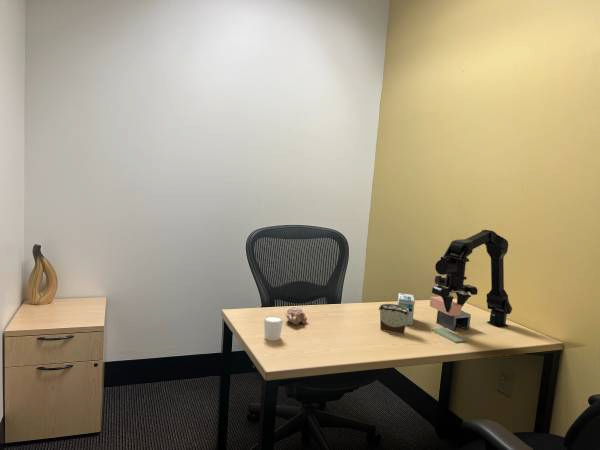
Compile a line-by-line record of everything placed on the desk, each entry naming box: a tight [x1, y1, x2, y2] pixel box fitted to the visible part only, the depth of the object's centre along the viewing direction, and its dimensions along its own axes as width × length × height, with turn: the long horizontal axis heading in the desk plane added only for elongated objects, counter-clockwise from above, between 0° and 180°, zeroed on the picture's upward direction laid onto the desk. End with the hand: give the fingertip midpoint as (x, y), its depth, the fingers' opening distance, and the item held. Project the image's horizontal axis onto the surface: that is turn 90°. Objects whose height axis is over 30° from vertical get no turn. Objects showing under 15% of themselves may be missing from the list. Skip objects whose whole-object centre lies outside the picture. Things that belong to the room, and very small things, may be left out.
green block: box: [431, 327, 469, 344], centre depth 186 cm, size 6×14×1 cm, turn 24°
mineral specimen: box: [285, 307, 308, 325], centre depth 188 cm, size 12×8×7 cm
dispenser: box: [435, 309, 472, 332], centre depth 198 cm, size 9×10×6 cm
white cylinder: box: [263, 315, 284, 341], centre depth 169 cm, size 7×7×7 cm
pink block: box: [429, 295, 463, 316], centre depth 188 cm, size 5×13×4 cm, turn 22°
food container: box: [378, 303, 410, 336], centre depth 187 cm, size 12×6×10 cm, turn 65°
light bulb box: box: [397, 292, 416, 326], centre depth 200 cm, size 11×7×11 cm, turn 168°
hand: (452, 311), depth 184 cm, fingers closed on pink block, 5 cm apart
